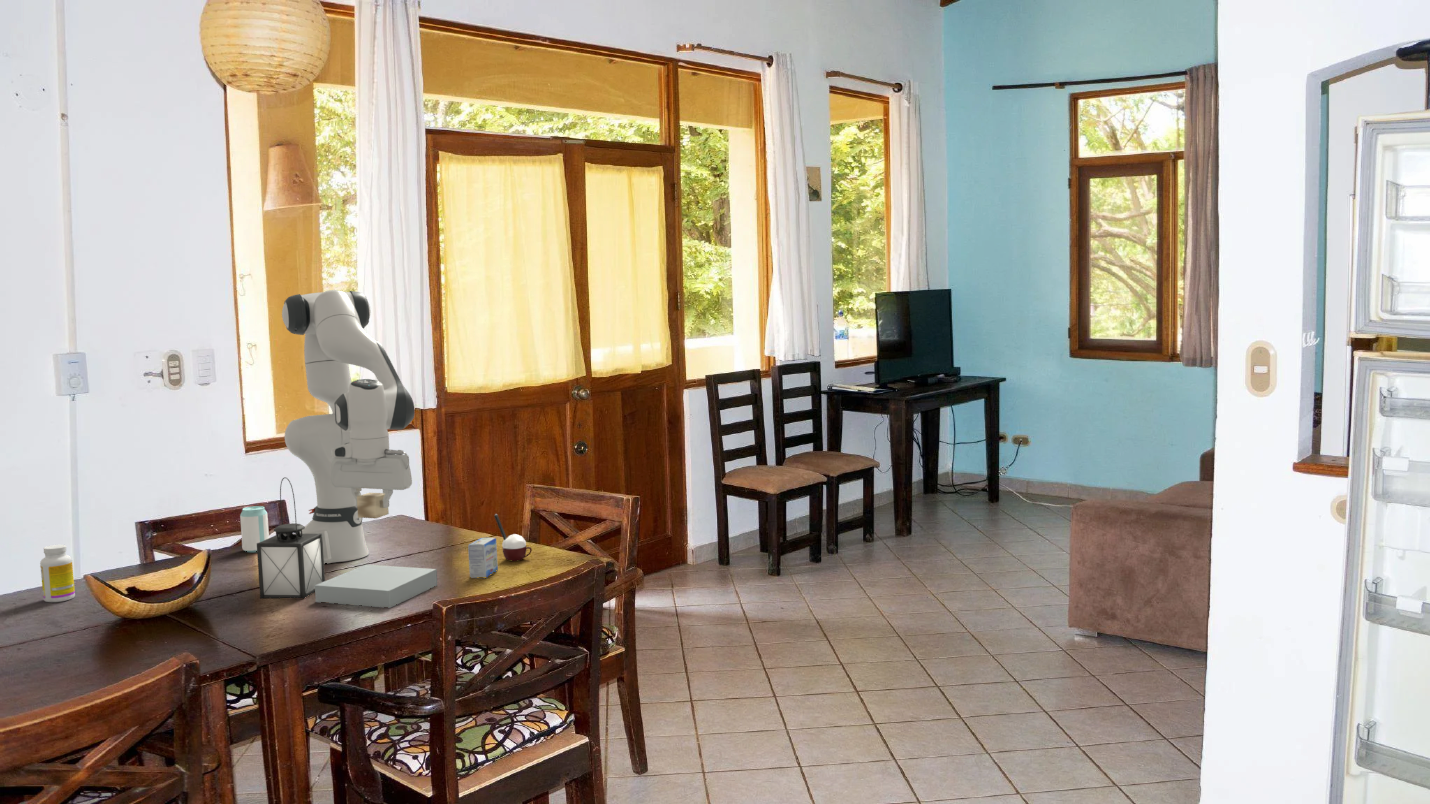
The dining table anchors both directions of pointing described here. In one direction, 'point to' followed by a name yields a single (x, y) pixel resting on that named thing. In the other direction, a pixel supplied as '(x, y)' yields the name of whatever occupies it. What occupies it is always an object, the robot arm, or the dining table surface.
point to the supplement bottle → (57, 574)
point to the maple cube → (371, 506)
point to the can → (253, 527)
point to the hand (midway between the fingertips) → (372, 506)
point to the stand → (376, 585)
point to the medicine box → (482, 557)
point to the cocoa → (513, 545)
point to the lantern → (290, 561)
